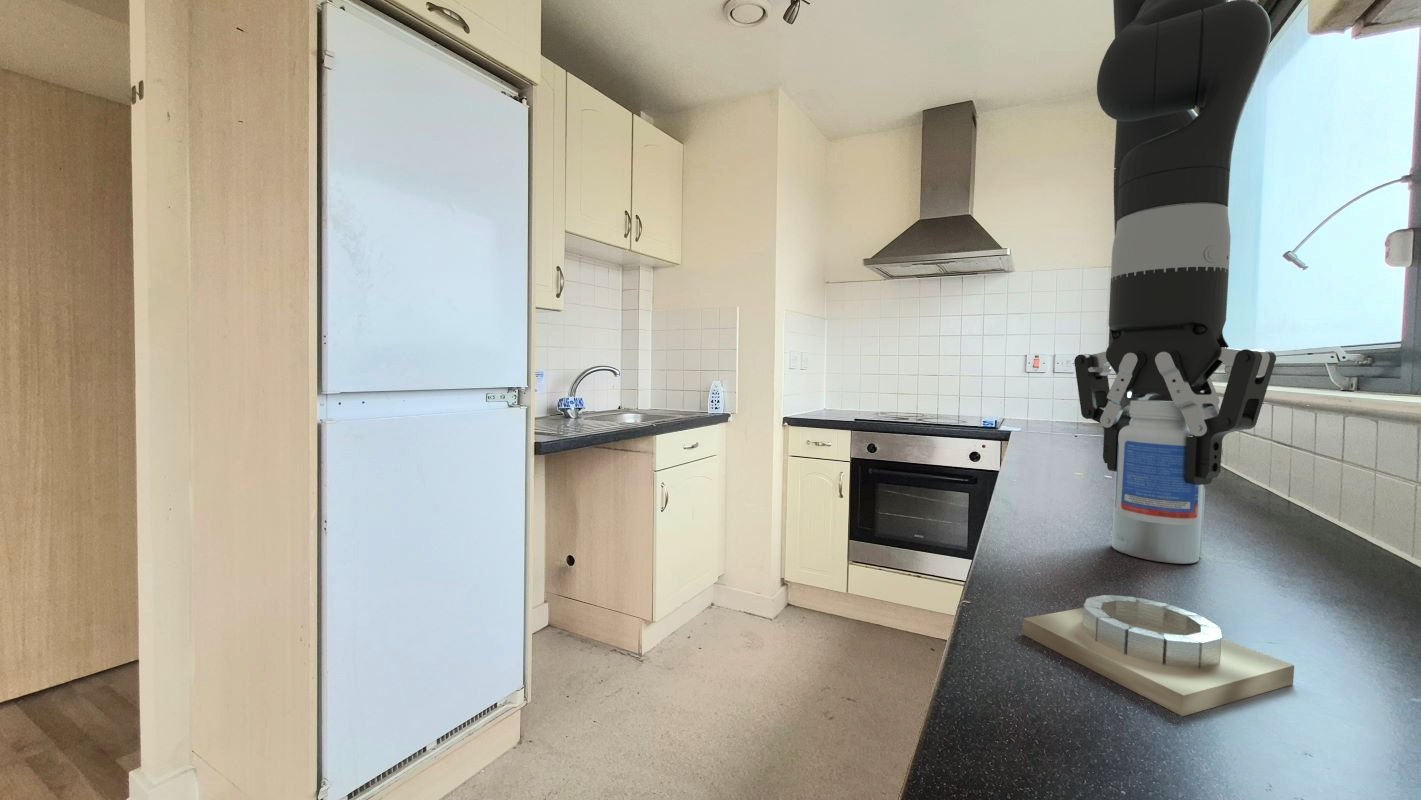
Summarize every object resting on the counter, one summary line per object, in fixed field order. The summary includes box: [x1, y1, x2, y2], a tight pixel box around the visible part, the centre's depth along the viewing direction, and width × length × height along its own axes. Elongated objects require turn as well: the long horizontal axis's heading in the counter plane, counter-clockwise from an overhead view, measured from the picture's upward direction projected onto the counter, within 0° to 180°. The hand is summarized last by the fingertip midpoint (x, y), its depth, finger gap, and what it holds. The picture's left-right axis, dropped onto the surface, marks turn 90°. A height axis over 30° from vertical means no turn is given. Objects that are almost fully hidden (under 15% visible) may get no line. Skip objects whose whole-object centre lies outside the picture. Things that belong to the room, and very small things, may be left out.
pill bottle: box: [1115, 400, 1199, 525], centre depth 47 cm, size 6×5×10 cm
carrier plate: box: [1022, 607, 1295, 717], centre depth 48 cm, size 13×13×2 cm
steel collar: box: [1082, 594, 1222, 669], centre depth 48 cm, size 9×9×2 cm
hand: (1156, 476), depth 47 cm, fingers closed on pill bottle, 5 cm apart
